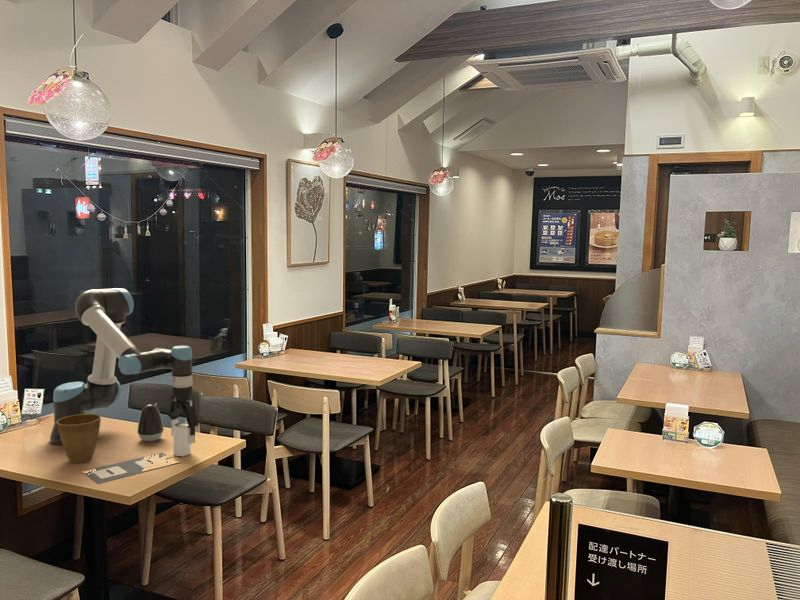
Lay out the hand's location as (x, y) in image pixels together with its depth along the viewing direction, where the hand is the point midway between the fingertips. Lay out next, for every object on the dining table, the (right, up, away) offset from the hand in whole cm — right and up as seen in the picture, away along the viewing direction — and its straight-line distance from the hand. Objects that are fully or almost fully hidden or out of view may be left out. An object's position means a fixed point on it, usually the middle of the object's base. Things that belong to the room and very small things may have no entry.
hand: (183, 439), depth 243 cm
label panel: (-14, -7, -14) cm, 21 cm away
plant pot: (-37, -7, -7) cm, 38 cm away
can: (-1, -6, +1) cm, 6 cm away
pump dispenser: (-20, -5, +19) cm, 28 cm away
